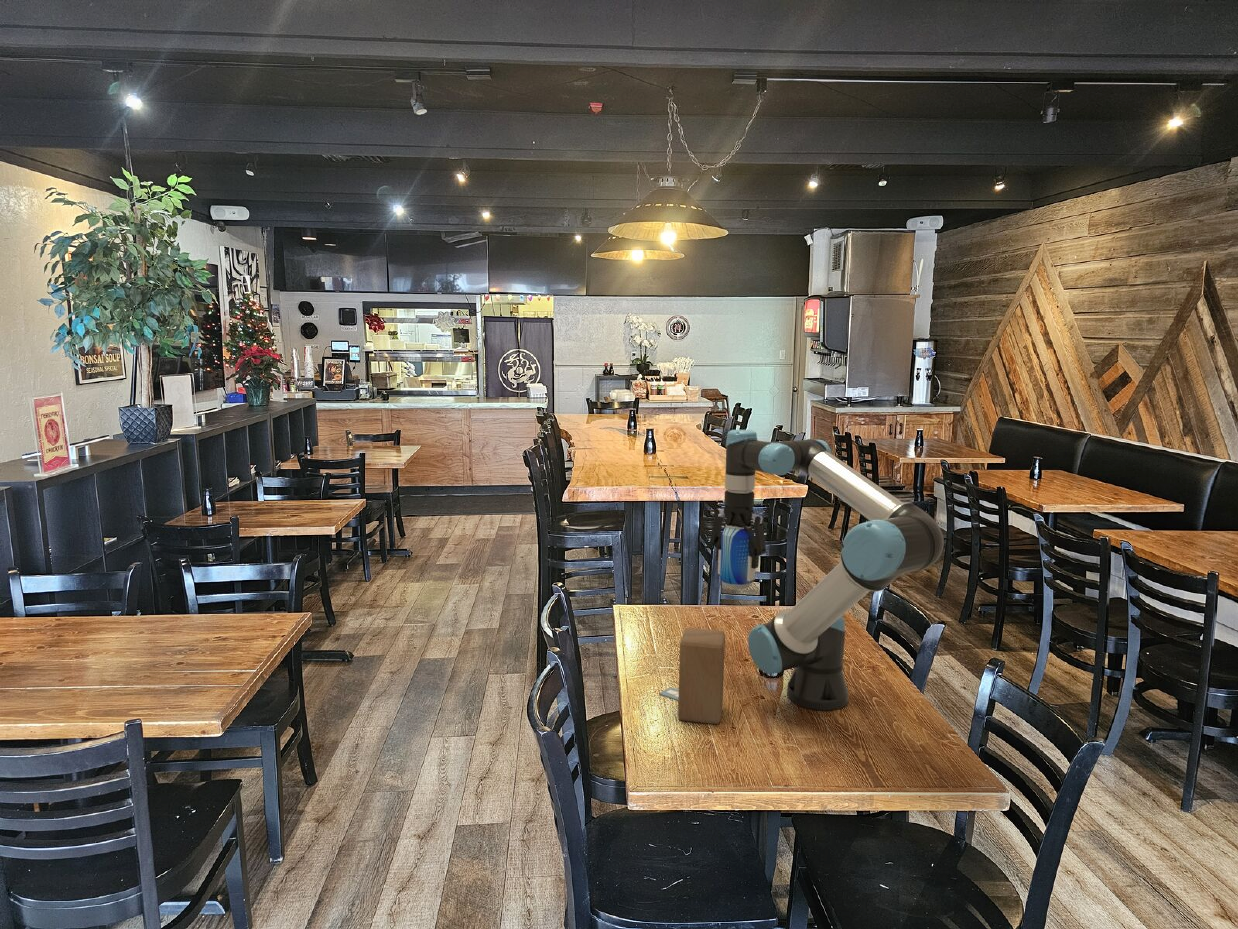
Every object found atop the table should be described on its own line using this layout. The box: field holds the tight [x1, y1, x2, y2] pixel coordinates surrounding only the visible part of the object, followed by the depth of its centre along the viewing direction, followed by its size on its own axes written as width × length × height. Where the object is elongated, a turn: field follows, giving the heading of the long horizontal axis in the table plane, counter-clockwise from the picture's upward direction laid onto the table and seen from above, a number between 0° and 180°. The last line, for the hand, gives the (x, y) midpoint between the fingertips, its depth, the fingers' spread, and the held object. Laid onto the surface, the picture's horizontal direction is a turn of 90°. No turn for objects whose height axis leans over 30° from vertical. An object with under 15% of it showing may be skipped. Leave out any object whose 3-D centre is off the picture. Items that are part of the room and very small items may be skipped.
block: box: [677, 627, 726, 725], centre depth 186 cm, size 10×10×20 cm
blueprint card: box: [658, 686, 679, 702], centre depth 197 cm, size 8×5×1 cm, turn 52°
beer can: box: [719, 525, 755, 590], centre depth 200 cm, size 8×8×16 cm
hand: (736, 576), depth 201 cm, fingers closed on beer can, 8 cm apart
